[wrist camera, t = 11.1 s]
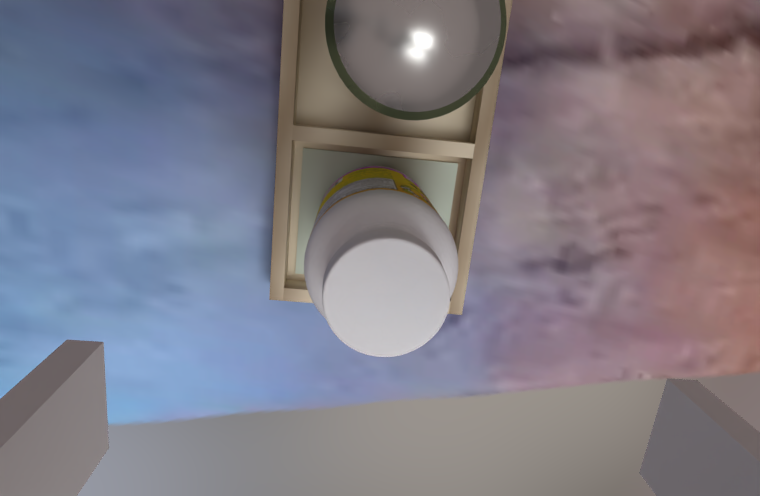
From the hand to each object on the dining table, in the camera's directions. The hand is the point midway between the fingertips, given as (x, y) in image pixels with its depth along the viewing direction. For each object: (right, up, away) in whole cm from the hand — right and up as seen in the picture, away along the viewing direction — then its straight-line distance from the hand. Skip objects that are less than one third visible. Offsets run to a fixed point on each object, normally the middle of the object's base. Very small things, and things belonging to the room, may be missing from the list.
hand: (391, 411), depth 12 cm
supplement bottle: (-1, +6, +19) cm, 20 cm away
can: (0, +15, +16) cm, 22 cm away
